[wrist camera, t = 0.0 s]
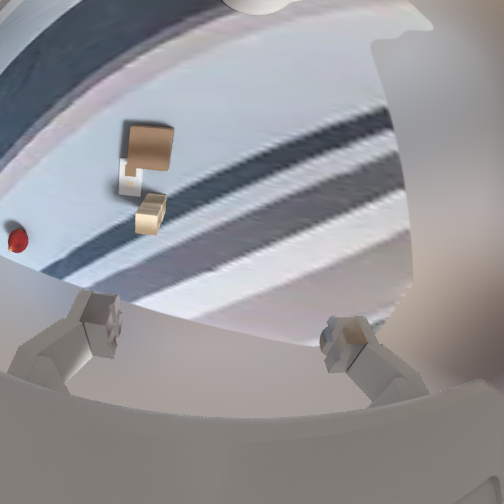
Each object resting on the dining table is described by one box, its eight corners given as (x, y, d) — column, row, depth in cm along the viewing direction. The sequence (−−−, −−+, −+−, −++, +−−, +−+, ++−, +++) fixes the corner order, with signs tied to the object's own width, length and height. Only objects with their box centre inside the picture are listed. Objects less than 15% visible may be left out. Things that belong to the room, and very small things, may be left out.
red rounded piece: (32, 226, 56) (16, 243, 49) (33, 245, 59) (19, 262, 52) (16, 221, 54) (0, 237, 48) (18, 240, 57) (3, 256, 51)
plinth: (134, 124, 48) (130, 126, 46) (174, 128, 50) (172, 129, 47) (131, 163, 52) (126, 167, 49) (169, 167, 54) (166, 171, 51)
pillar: (148, 192, 56) (135, 213, 48) (166, 194, 57) (157, 215, 48) (147, 210, 58) (135, 233, 50) (165, 212, 59) (156, 235, 51)
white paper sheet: (120, 157, 51) (119, 158, 51) (143, 159, 52) (143, 160, 52) (119, 194, 55) (118, 194, 55) (140, 196, 56) (140, 197, 56)
